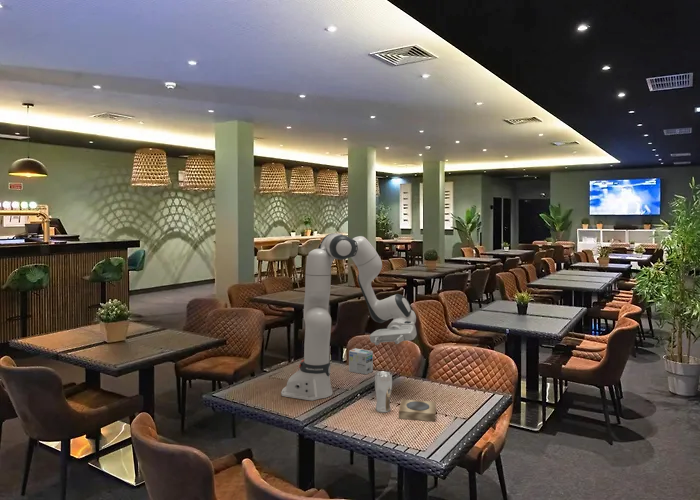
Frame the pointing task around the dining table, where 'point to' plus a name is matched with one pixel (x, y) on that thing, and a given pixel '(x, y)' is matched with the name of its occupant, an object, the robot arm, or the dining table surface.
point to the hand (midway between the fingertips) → (386, 342)
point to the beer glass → (383, 391)
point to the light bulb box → (361, 361)
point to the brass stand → (417, 410)
